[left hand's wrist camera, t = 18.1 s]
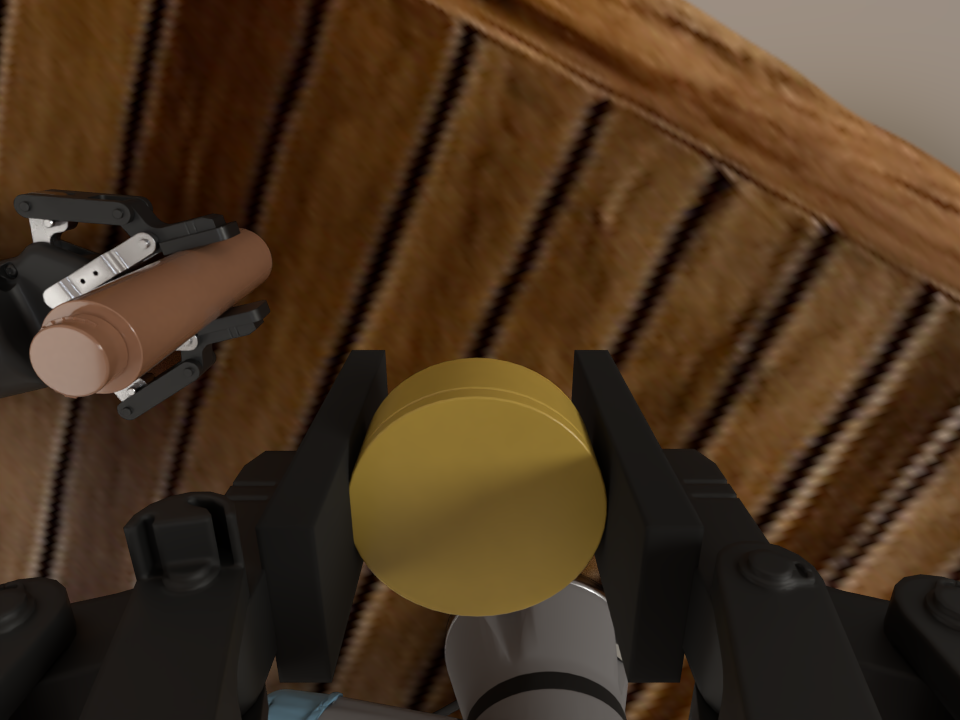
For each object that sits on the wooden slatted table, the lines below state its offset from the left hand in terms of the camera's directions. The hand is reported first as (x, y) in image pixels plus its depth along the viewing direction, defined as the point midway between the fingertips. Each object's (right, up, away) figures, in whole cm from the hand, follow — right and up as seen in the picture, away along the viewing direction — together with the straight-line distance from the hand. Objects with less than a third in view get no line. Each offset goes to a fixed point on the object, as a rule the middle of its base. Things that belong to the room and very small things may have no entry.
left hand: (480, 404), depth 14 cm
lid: (0, -1, -4) cm, 4 cm away
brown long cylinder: (-16, +8, +26) cm, 31 cm away
